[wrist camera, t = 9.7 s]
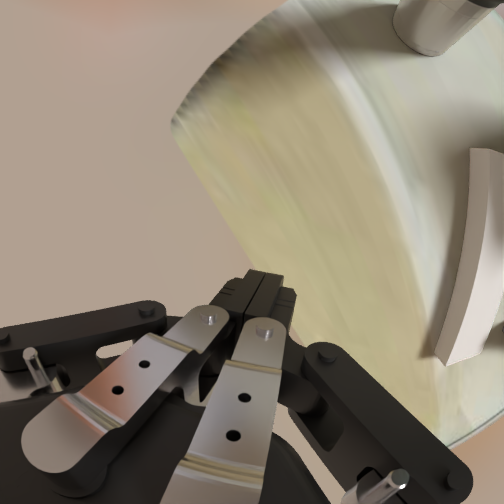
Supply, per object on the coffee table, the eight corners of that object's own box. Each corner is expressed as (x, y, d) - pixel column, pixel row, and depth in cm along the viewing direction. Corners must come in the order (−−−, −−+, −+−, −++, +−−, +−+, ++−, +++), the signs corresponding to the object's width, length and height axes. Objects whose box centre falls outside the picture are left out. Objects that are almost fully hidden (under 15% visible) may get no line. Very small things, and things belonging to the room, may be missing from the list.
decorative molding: (501, 158, 28) (467, 147, 28) (521, 160, 23) (489, 148, 23) (467, 340, 38) (432, 350, 38) (480, 353, 34) (445, 366, 34)
